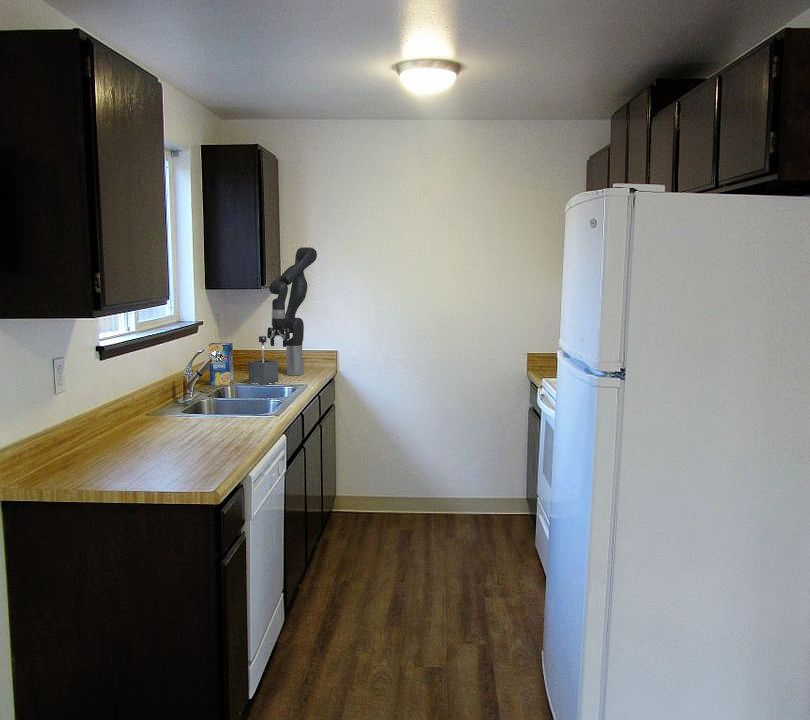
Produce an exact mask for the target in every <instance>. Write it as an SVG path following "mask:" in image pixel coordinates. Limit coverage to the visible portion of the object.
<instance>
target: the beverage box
mask: <svg viewBox="0 0 810 720" xmlns="http://www.w3.org/2000/svg"><path fill="white" fill-rule="evenodd" d="M233 347H234V346H233V342H211V343H208V358H209V357H210V355H211V353H212V352H214V351H219V352H221V353H222V354H223V357H224V359H223V361H222V362H216V361H212V362H211V363H210V365H208V366H209V386H219V385H220V384H231V383H232V382H234V381H235V380H234V378H235V377H234V352H233V351H234V350H233V349H234V348H233Z"/></svg>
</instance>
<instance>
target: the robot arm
mask: <svg viewBox="0 0 810 720" xmlns="http://www.w3.org/2000/svg"><path fill="white" fill-rule="evenodd" d="M317 258H318V253H317V250H316V249H315V248H313V247H310V246H309V247H305V246H304V247H299V248H297V250H296V253H295V258H294V259H295V260H294V264H293V265H290V266H289V267H288V268H286V269H285V271H284V272H283V273H281V275H280V276H279V277H276V278H275V279H274V280H272V282H271V283H270V285H269V287H268V290H269V292H270V294H272V295H277V298H274V299H273V300H272V303H271V304H272V305H271V309H272V310H271V327H267V334H266V339H269V340H270V346H271V347H274V346H275V337H277V336H278V337H281V339H282V347H283V348H286V352H285V353H286V375H287V376H303V374H305V364H304V363H305V361H304V360H305V359H304V357H303V342H304V333H305V331H304V330H305V327H304V326H305V325H304V323H305V322H304V321H303V319H302V318H301V317H296V313H297V311H298V309H299V308H300V306H301V305H302V303H303V302H304V301H305V299H306V296H307V293H308V282H307V279H306V276H305V271H304V270H306V269H307V268H308V267H310V265H312V264H314V262H315V261H316V260H317ZM290 285H291V287H290V292H289V286H290ZM288 293H289V299H288V303H287V308H286V299H287V296H288ZM290 334H292V337H291V335H290Z"/></svg>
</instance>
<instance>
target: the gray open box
mask: <svg viewBox="0 0 810 720" xmlns="http://www.w3.org/2000/svg"><path fill="white" fill-rule="evenodd" d="M247 367H248V384H249V383H258V384H264V385H265V384H269V383H275V382H278V383H279V361H278V360H273V359H272V360H271V359H269V360H268V359H264V363H262V359H258V360H257V359H256V360H251V361H248V366H247Z"/></svg>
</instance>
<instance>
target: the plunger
mask: <svg viewBox="0 0 810 720" xmlns="http://www.w3.org/2000/svg"><path fill="white" fill-rule="evenodd" d="M258 343H261V360H262V363H264V360H265V343H267V335H266V336H265V335H261V336H258Z"/></svg>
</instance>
